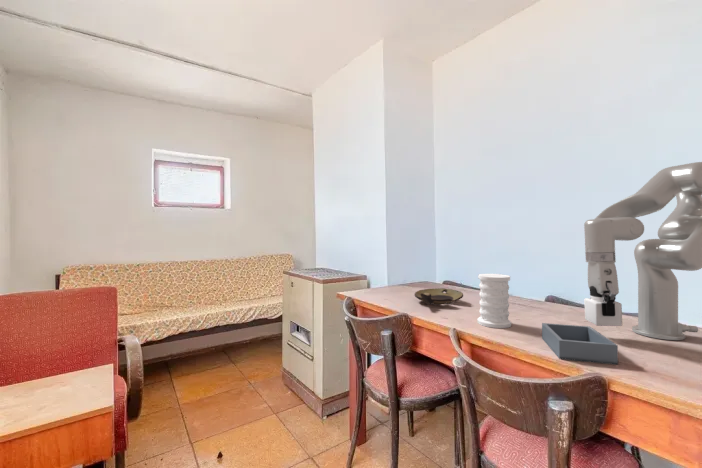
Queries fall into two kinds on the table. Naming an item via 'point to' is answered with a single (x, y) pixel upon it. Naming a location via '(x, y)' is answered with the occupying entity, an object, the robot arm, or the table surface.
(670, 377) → the table surface
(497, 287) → the decorative container
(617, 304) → the medicine bottle
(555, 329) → the bin
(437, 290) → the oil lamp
